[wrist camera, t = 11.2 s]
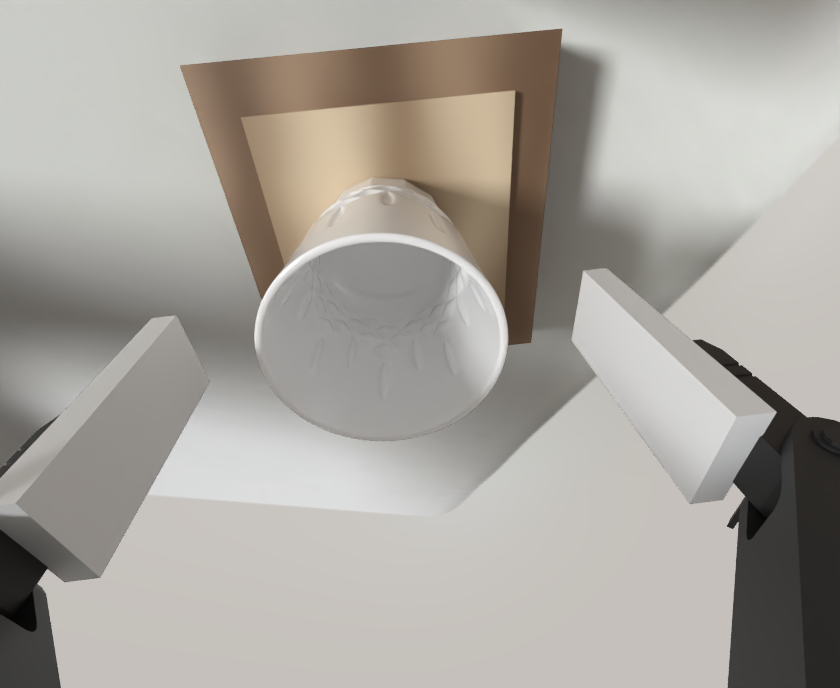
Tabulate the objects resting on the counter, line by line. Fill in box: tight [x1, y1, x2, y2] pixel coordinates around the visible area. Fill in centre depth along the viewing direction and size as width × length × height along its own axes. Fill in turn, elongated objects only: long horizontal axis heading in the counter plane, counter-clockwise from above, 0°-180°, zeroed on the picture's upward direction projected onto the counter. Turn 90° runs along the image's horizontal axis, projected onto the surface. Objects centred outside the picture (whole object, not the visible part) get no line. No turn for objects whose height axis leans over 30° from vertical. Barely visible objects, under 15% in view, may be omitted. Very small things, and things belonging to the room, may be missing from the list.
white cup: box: [254, 178, 508, 441], centre depth 16 cm, size 8×8×10 cm
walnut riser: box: [180, 29, 562, 345], centre depth 22 cm, size 16×16×4 cm
